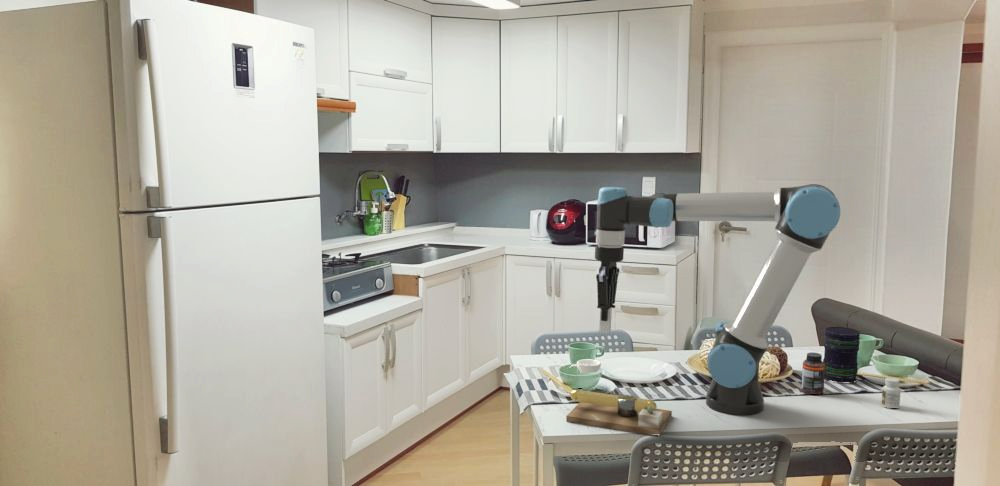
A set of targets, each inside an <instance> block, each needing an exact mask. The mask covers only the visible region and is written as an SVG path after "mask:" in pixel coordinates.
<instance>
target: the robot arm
mask: <svg viewBox="0 0 1000 486" xmlns="http://www.w3.org/2000/svg"><path fill="white" fill-rule="evenodd" d="M597 197H598V198H597V204H596V209H597V210H596V231H594V235H595V243H596V245H595V246H594V247H595V248H594V259H595V260H597V261H599V262H600V266H599V268H598V273H597V274H596V275H595V277H596V278H595V279H596V285H597V287H596V288H597V289H596V291H597V306H596V307H597V309H600V313H599V331H598V332H599V333H605V334H609V333H610V334H611V332H612V316H613V315H612V313H613V312H612V311H613V309H615V308H616V305H615V303H616V295H617V288H618V279H619V276H620V274H619V273H620V268H619V267H617V265H618V263H620V262H622V261H623V260H624V250H625V249H624V247H623V246H624V245H625V237H626V236H625V235H626V225H627V226H642V227H649V228H650V227H652V228H657V229H658V228H669V227H670V226H671V225H672V223H673V222H705V221H706V222H776V225H775V228H774V230H775V231H774V232H775V235H776V237H777V238H776V240H775V242H774V243H773V245H772V247H771V249H770V251H769V253H768V255H767V257H766V258H765V261H764V262H763V264H762V266H761V268H760V270H759V272H758V274H757V276H756V278H755V280H754V282H753V283H752V285H751V287H750V289H749V291H748V293H747V295H746V296H745V298H744V300H743V302H742V304H741V305H740V309H739V310H738V311H737V314H736V315H735V318H734V319H733V321H720V322H718V323H717V324H716V326H715V330H714V332H715V340H714V343H713V345H712V348H711V350H710V351H709V353H707V354H708V355H707V359H706V367H707V371H708V373H709V375H710V377H711V378H712V380H711V382H710V385H709V387H708V390H707V392H706V395H705V396H706V397H705V398H706V399H705V404H706V405H707V406H708V407H709V408H710V409H712V410H715V411H716V412H720V413H724V414H730V415H742V416H744V415H747V416H748V415H756V414H759V413H761V412H762V411H763V410H764V408H765V407H764V406H765V400H764V399H765V398H764V396H763V393H762V389H761V385H760V382H759V374H760V373H759V371H760V363H761V360H762V358H763V356H764V355H765V353H766V351H767V349H768V348H769V344H768V341H767V339H766V338H767V336H768V334H769V332H770V330H771V328H772V327H773V324H774V323H775V321H776V319H777V317H778V315H779V313H780V312H781V309H782V308H783V306H784V304H785V302H786V301H787V299H788V297H789V295H790V294H791V292H792V289H793V287H795V284H796V282H797V280H798V278H799V276H800V274H801V273H802V272H803V269H804V267H805V265H806V264H807V262H808V260H809V258H810V257H811V254H813V253H815V252H819V251H821V250H822V248H823V246H824V245H825V243H826V241H827V239H828V238H829V236H830V233H831V232H832V231H833V230H834V229H835V228H836V227H837V225H838V223H839V222H840V218H841V205H840V203H839V200H838V198H837V197H836V195H835V194H834V192H833V191H832V189H831V190H830V189H829V188H828V187H826V186H824V185H821V184H817V183H816V184H814V183H811V184H806V185H800V186H799V185H798V186H791V187H779V188H778V189H777V190H776V191H759V192H758V191H748V192H747V191H746V192H743V191H742V192H739V191H738V192H700V193H699V192H697V193H696V192H692V193H690V192H688V193H687V192H686V193H685V192H684V193H664V192H656V193H654V194H651V195H649V196H632V195H628V190H627V188H625V187H619V186H603V187H600V189H599V190H598V196H597Z"/></svg>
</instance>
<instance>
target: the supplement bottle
mask: <svg viewBox="0 0 1000 486" xmlns="http://www.w3.org/2000/svg"><path fill="white" fill-rule="evenodd" d="M822 357H823V355H822V354H821V353H818V352H807V353H806V359H804V360H803V361H802V370H801V371H802V373H801V391H802V392H803V393H804V392H806V393H805V394H807V393H812V394H819V395H821V394H820V393H822V394H823V393H824V392H825V391H824V390H825V379H824V374H825V364H824V362H823V358H822Z"/></svg>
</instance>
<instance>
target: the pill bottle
mask: <svg viewBox="0 0 1000 486" xmlns="http://www.w3.org/2000/svg"><path fill="white" fill-rule="evenodd" d="M884 380H885V382H884V384H885V385H883V386H882V394H881V395H882V396H881V406H882V405H883V406H885V407H888V408H898V409H900V404H901V403H900V402H901V392H902V391H901V388H900V387H899V386H900V379H899V378H897V377H895V378H894V377H886V378H885V379H884ZM883 406H882V407H883ZM885 407H884V408H885ZM888 408H887V409H888Z"/></svg>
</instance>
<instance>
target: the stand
mask: <svg viewBox="0 0 1000 486" xmlns="http://www.w3.org/2000/svg"><path fill="white" fill-rule="evenodd" d="M617 412H618V408H617V407H610V406H603V405H597V404H590V403H584V402H578V404H577V405H576V406H575V407H574V408H573V409H571V411H570V412H568V413H567V414H566V416H565V417H566V418H565V419H566V422H567V423H575V424H580V425H585V426H586V425H587V426H591V427H592V426H593V427H598V428H604V429H605V428H606V429H611V430H617V431H624V432H629V433H635V434H641V435H648V436H652V435H651V434H660V435H661V434H662V432H664V429H665V428H666V426H667V425H668V423H669V421H670V420H671V418H672V416H673V415H672V413H673V410H667V409H662V408H656V410H655V411H654V409H653V407H648V409H647V410H646V409H642V410H641V411H637V415H636V416H633V417H624V416H621V415H619V414H618V413H617Z"/></svg>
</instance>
